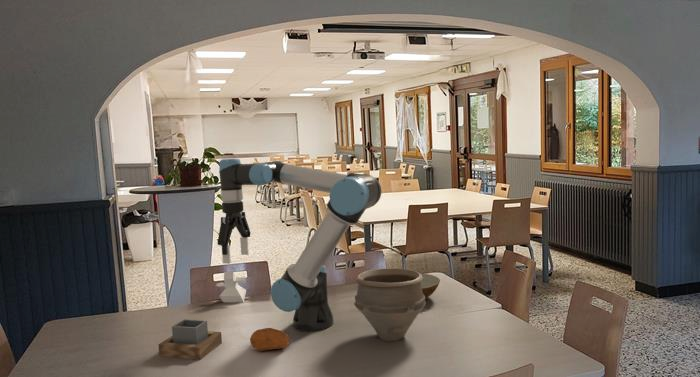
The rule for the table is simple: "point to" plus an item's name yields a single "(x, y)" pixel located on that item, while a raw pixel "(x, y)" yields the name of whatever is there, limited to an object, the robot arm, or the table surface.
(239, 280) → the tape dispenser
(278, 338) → the potato
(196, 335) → the grey open box
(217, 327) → the table surface
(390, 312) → the planter
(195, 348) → the walnut crate
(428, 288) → the bowl
